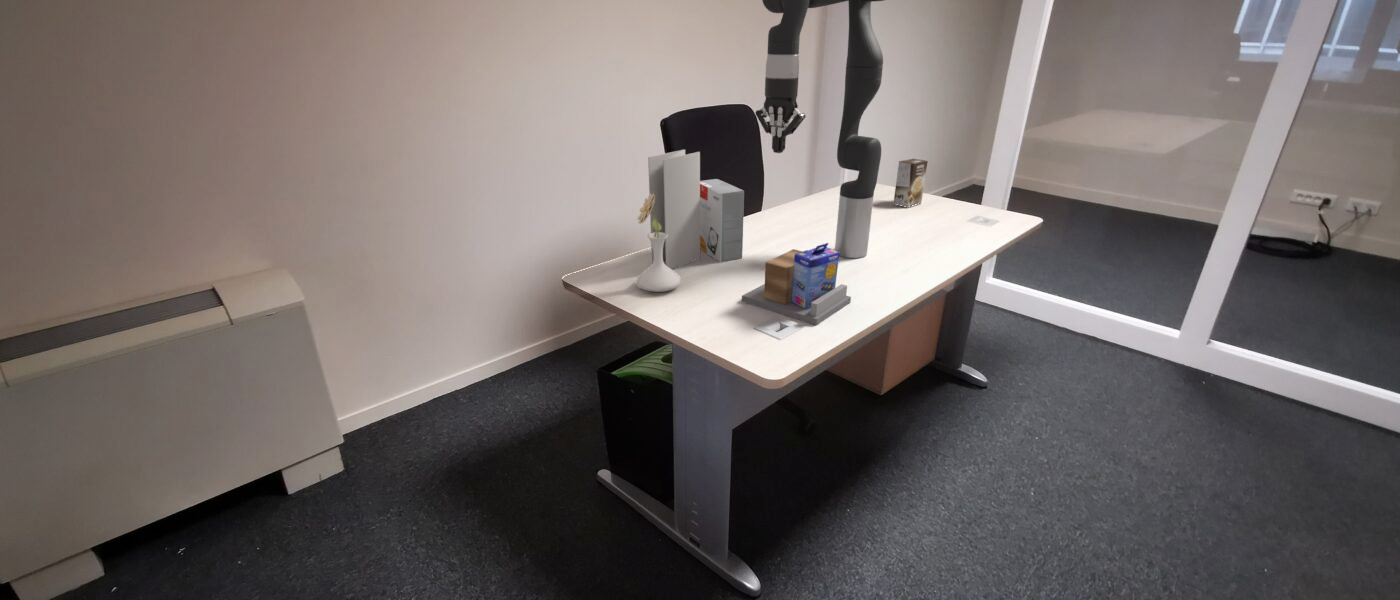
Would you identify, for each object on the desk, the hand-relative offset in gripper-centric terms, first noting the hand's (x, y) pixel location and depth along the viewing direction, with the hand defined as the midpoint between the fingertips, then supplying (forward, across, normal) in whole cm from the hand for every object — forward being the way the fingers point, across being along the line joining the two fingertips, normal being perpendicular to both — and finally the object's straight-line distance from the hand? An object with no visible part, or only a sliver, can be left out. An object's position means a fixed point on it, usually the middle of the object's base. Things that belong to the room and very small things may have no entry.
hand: (778, 152), depth 149 cm
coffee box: (+33, +3, -94) cm, 100 cm away
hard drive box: (+33, +24, -8) cm, 42 cm away
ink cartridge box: (+32, -17, +8) cm, 37 cm away
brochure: (+33, +28, +6) cm, 44 cm away
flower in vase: (+33, +19, +23) cm, 45 cm away
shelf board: (+33, -12, +8) cm, 36 cm away
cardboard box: (+31, -10, +8) cm, 34 cm away
